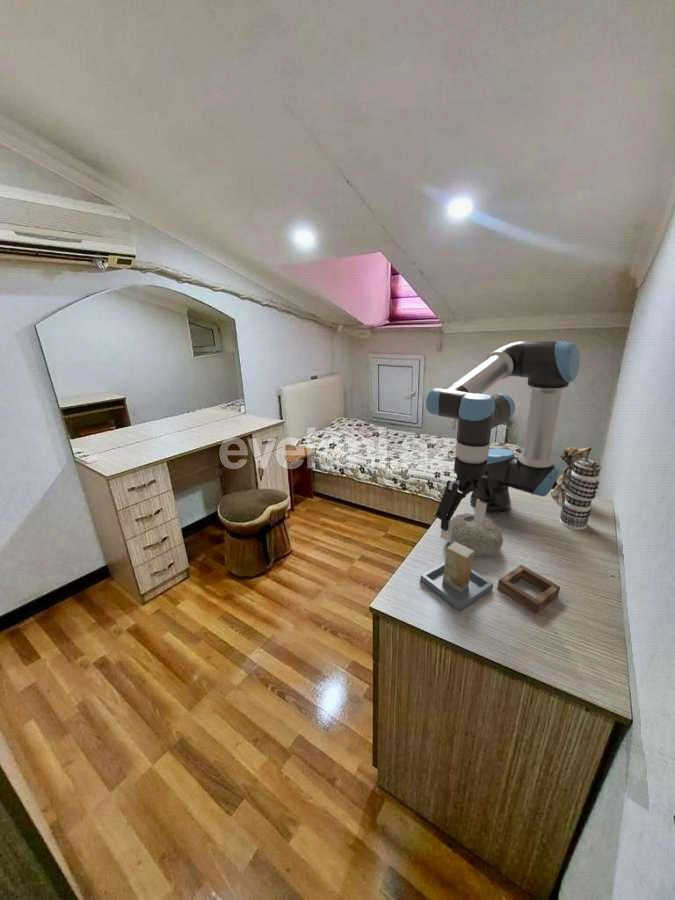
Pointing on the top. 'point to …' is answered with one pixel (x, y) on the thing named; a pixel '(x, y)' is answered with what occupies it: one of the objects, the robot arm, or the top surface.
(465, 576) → the skincare box
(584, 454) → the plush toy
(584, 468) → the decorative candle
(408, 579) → the top surface
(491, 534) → the decorative shell
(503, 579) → the socket block
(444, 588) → the tray
